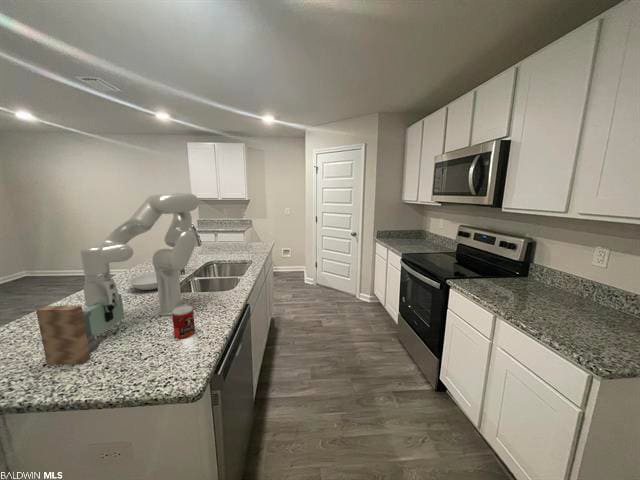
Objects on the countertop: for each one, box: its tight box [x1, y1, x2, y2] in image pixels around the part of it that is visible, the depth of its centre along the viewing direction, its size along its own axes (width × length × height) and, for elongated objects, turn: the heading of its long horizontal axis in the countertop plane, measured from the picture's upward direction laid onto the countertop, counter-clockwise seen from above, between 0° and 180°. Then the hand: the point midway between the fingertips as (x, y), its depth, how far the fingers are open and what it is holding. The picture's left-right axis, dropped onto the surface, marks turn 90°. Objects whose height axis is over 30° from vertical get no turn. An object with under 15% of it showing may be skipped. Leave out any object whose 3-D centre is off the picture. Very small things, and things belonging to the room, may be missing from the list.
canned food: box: [171, 305, 196, 340], centre depth 103 cm, size 8×8×11 cm
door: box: [82, 293, 125, 343], centre depth 98 cm, size 5×21×11 cm, turn 1°
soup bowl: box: [127, 271, 158, 291], centre depth 155 cm, size 24×24×7 cm
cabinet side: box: [35, 305, 100, 366], centre depth 88 cm, size 12×10×20 cm
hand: (105, 320), depth 101 cm, fingers closed on door, 3 cm apart
